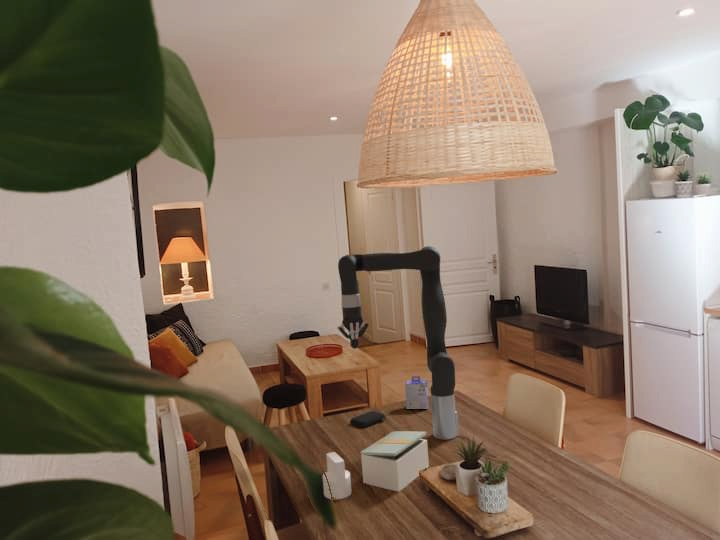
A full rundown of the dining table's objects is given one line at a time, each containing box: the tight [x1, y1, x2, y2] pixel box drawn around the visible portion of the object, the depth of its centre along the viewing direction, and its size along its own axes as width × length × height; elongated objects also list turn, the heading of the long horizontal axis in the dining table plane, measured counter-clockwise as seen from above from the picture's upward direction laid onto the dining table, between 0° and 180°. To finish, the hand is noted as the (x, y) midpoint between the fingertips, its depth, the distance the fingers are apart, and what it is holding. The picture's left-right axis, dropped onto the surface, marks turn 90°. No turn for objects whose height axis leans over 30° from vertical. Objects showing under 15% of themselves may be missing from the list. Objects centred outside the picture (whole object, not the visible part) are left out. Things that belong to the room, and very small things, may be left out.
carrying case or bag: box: [349, 410, 387, 429], centre depth 255 cm, size 11×3×15 cm
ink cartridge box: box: [404, 375, 430, 410], centre depth 268 cm, size 10×6×14 cm, turn 78°
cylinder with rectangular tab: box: [322, 451, 352, 500], centre depth 191 cm, size 9×9×12 cm
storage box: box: [360, 438, 430, 493], centre depth 200 cm, size 14×20×10 cm
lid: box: [360, 430, 428, 456], centre depth 200 cm, size 14×21×1 cm
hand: (354, 348), depth 234 cm, fingers closed
